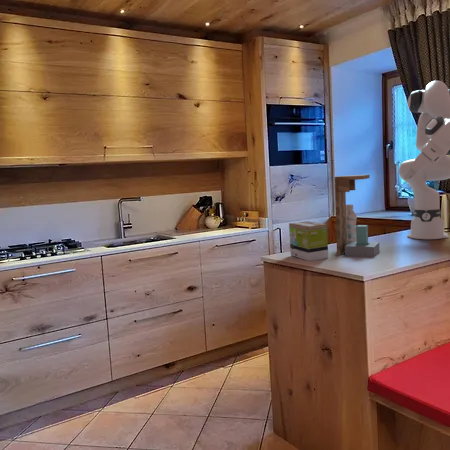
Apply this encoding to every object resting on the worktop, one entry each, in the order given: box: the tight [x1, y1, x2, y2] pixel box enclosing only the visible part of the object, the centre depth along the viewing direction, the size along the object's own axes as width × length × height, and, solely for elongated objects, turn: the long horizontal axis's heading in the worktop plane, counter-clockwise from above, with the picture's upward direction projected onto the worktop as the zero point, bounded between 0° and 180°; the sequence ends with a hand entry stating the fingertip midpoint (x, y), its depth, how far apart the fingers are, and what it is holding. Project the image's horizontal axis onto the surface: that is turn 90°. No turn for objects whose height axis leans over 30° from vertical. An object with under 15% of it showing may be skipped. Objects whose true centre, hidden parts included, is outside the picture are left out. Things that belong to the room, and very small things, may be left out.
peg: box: [356, 224, 369, 245], centre depth 196 cm, size 4×4×12 cm
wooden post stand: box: [334, 174, 371, 256], centre depth 196 cm, size 12×12×34 cm
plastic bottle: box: [346, 204, 358, 244], centre depth 210 cm, size 6×7×20 cm
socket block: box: [344, 241, 381, 257], centre depth 196 cm, size 12×12×4 cm
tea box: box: [288, 220, 329, 262], centre depth 195 cm, size 15×10×15 cm
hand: (406, 178), depth 190 cm, fingers open, 8 cm apart
